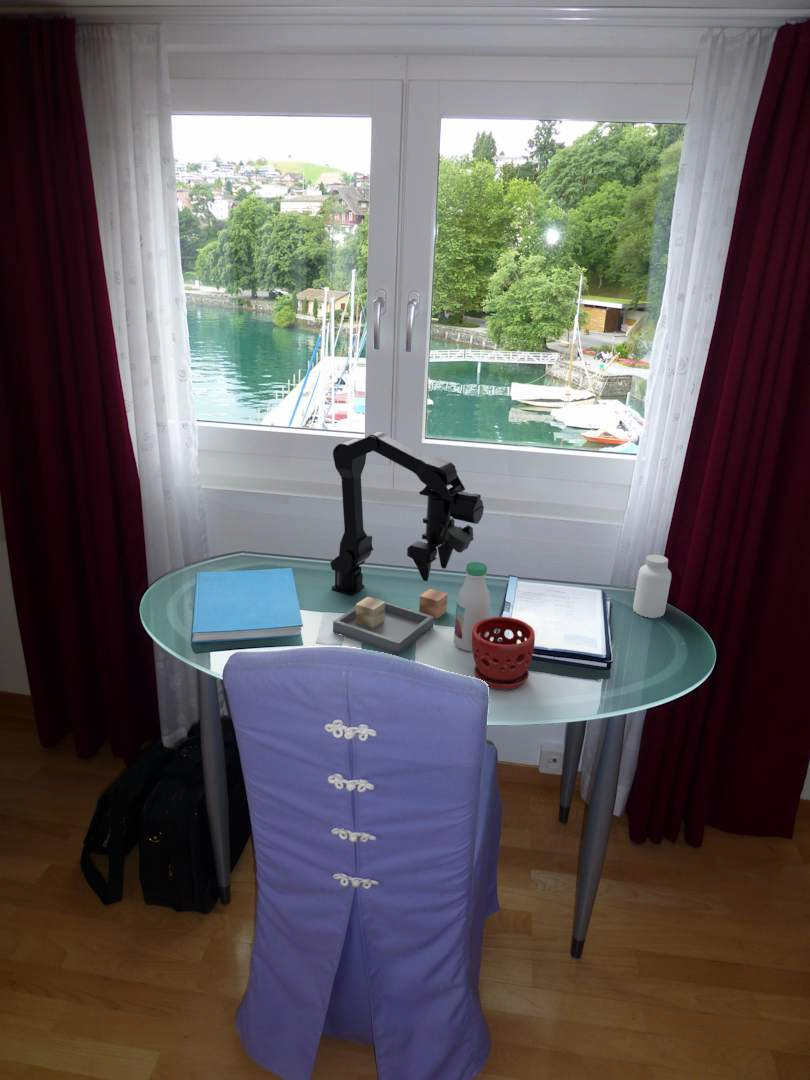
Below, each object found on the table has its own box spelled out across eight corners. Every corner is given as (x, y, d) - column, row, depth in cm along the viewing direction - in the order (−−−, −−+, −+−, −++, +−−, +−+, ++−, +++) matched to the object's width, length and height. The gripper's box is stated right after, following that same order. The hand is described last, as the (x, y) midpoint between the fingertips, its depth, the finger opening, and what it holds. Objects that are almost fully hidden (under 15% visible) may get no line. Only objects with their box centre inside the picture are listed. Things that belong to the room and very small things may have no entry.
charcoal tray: (332, 632, 191) (333, 621, 190) (370, 607, 204) (370, 597, 203) (398, 655, 183) (398, 643, 182) (433, 627, 196) (433, 616, 194)
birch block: (355, 622, 194) (355, 604, 192) (367, 615, 198) (367, 596, 196) (372, 628, 192) (373, 609, 190) (384, 620, 196) (385, 602, 194)
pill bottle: (630, 615, 207) (639, 560, 201) (634, 602, 214) (643, 549, 208) (662, 621, 204) (672, 567, 198) (666, 608, 211) (675, 555, 205)
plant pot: (490, 657, 184) (495, 609, 179) (541, 678, 176) (547, 629, 172) (456, 679, 174) (460, 629, 170) (508, 703, 167) (513, 651, 162)
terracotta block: (419, 613, 202) (420, 595, 200) (428, 606, 206) (430, 588, 204) (436, 619, 200) (437, 601, 198) (446, 611, 204) (447, 593, 202)
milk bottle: (490, 640, 191) (497, 562, 184) (482, 655, 184) (489, 574, 177) (458, 633, 193) (464, 556, 186) (449, 648, 187) (455, 568, 179)
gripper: (450, 533, 182) (445, 596, 188) (486, 511, 197) (481, 570, 203) (407, 522, 187) (404, 584, 193) (445, 501, 202) (441, 559, 208)
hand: (434, 574), depth 199 cm, fingers open, 9 cm apart
